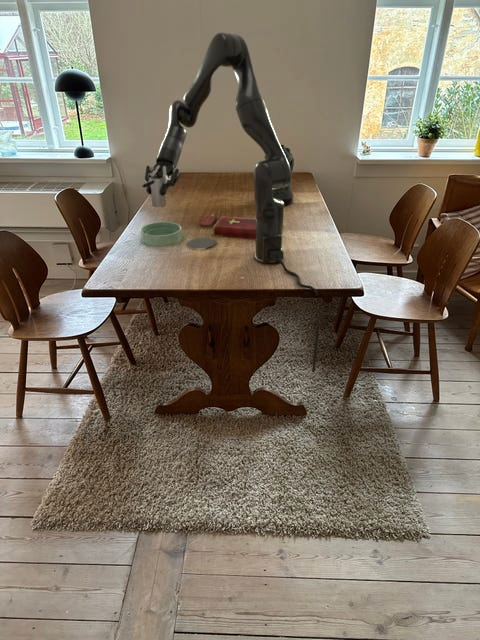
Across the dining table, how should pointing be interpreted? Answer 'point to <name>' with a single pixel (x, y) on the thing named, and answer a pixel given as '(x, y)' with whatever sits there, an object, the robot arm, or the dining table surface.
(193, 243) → the coaster
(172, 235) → the bowl
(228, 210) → the dining table surface
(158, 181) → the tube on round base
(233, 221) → the hardcover book
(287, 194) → the beer stein
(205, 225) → the popsicle
